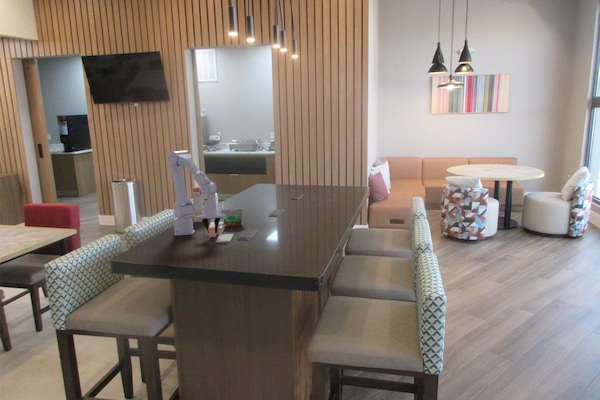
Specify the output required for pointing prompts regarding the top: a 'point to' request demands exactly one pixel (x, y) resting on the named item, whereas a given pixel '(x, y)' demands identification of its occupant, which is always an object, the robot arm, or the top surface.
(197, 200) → the cracker box
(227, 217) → the food container
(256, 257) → the top surface
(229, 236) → the white rectangular board
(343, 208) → the top surface
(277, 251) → the top surface
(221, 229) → the white u-shaped piece
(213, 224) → the salmon pink rectangular prism
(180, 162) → the robot arm
